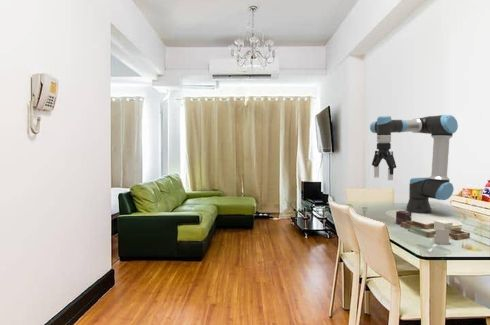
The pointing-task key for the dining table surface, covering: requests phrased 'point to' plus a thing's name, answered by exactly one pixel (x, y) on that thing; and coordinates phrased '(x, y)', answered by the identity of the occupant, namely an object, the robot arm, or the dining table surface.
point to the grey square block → (441, 236)
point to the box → (402, 216)
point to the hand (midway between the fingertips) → (383, 178)
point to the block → (443, 225)
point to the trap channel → (417, 227)
